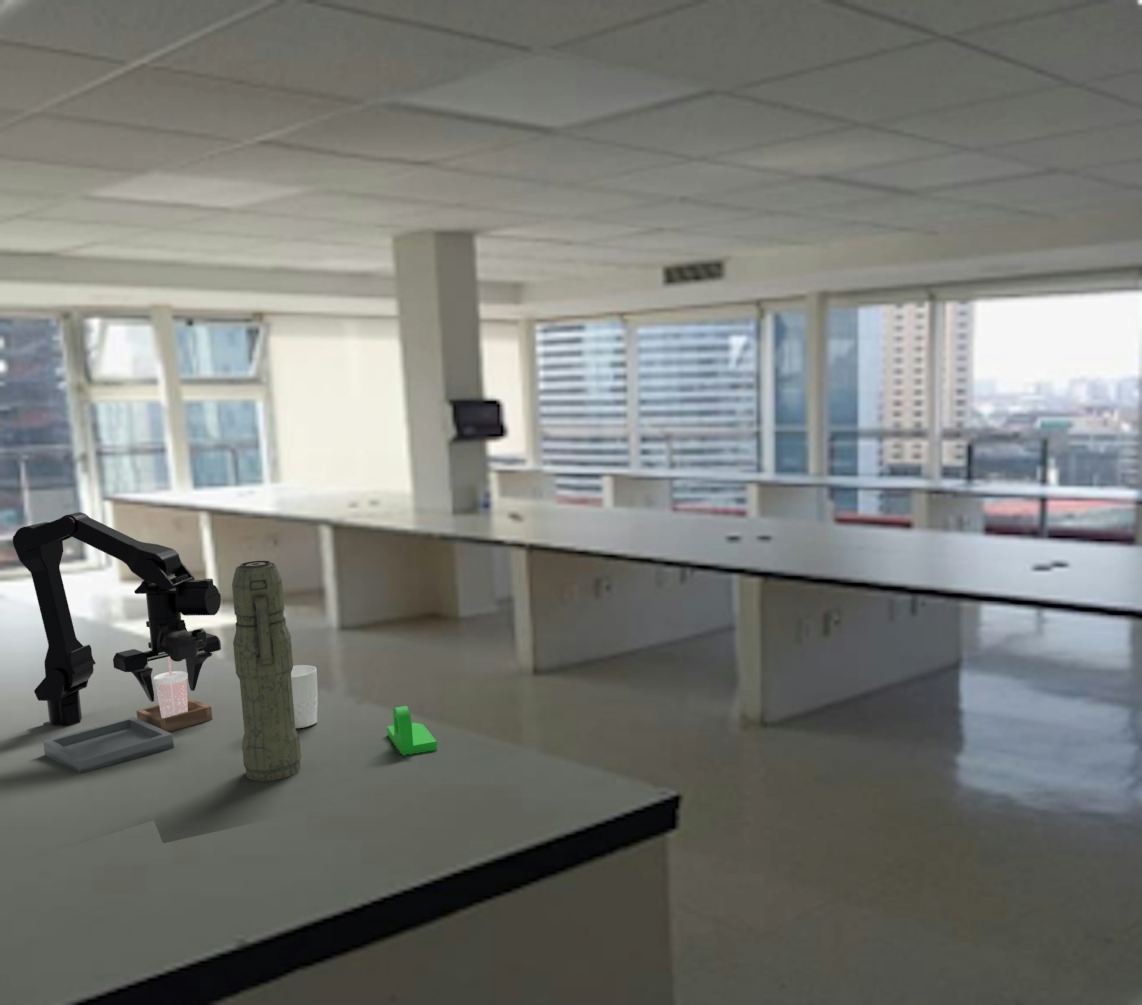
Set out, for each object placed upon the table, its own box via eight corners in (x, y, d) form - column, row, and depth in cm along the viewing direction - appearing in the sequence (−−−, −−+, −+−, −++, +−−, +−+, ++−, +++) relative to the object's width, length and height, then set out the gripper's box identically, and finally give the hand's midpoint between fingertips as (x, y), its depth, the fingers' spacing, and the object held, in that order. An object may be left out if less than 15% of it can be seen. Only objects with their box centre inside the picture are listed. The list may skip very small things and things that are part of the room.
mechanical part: (437, 752, 175) (434, 706, 174) (402, 759, 173) (398, 712, 172) (421, 731, 187) (417, 688, 186) (387, 737, 184) (384, 693, 183)
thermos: (254, 794, 161) (233, 572, 156) (239, 771, 171) (219, 561, 166) (311, 781, 165) (293, 564, 160) (292, 759, 175) (275, 554, 171)
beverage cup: (192, 714, 202) (185, 644, 200) (191, 723, 196) (184, 651, 195) (158, 718, 200) (151, 648, 198) (157, 728, 194) (149, 655, 193)
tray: (44, 754, 183) (43, 741, 183) (134, 729, 195) (133, 716, 194) (80, 775, 172) (79, 761, 172) (173, 747, 184) (172, 733, 183)
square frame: (137, 723, 198) (136, 710, 198) (187, 709, 205) (186, 696, 205) (161, 733, 191) (160, 720, 191) (212, 719, 198) (211, 706, 198)
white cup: (309, 730, 189) (305, 677, 188) (269, 729, 191) (265, 676, 190) (327, 716, 197) (323, 665, 196) (289, 715, 198) (285, 664, 197)
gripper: (134, 631, 183) (143, 717, 185) (231, 611, 197) (238, 690, 199) (107, 623, 191) (116, 705, 193) (203, 604, 204) (210, 680, 206)
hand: (172, 695), depth 198 cm, fingers closed on beverage cup, 8 cm apart
